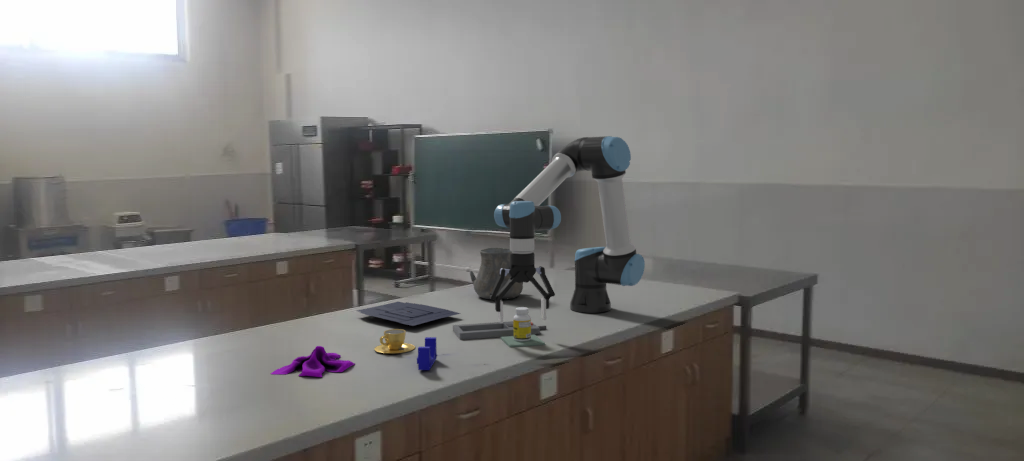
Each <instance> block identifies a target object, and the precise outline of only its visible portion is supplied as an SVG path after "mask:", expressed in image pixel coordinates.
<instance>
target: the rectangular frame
mask: <svg viewBox="0 0 1024 461" xmlns="http://www.w3.org/2000/svg"><path fill="white" fill-rule="evenodd" d="M542 330H547V325H536V324H535V323H534V322H532V321H531V335H540V333H541V331H542ZM452 332H453V333H454V334H455V336H456V337H457V338H458V339H459V340H473V339H485V338H487V339H489V338H501V337H507V336H514V330H513V321H512V320H511V321H503V323H500V322H499V321H497V322H495V321H494V322H483V323H482V322H481V323H467V324H466V323H465V324H453V325H452Z"/></svg>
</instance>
